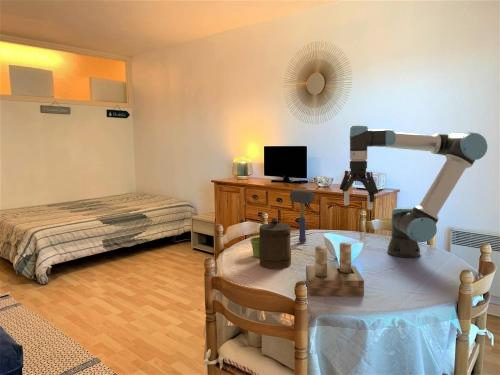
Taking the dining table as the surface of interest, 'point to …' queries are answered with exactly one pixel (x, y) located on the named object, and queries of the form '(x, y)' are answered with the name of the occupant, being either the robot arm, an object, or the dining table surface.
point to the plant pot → (255, 246)
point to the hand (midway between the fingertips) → (357, 207)
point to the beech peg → (345, 258)
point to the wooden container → (275, 245)
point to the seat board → (332, 278)
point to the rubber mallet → (302, 208)
